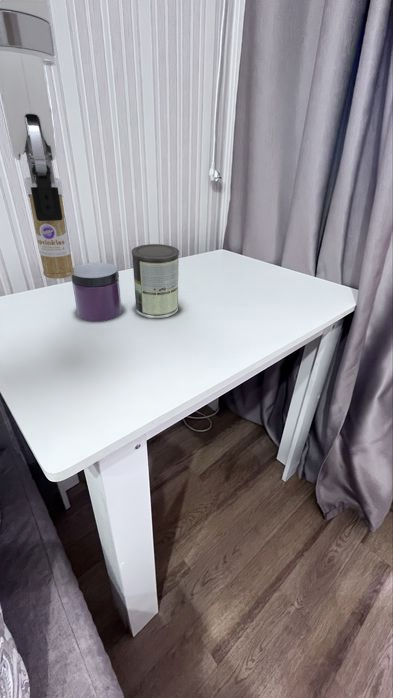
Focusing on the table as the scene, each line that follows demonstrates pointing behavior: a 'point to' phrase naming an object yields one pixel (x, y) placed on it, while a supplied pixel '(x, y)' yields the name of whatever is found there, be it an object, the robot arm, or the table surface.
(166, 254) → the coffee can
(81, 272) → the jar lid
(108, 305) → the jar
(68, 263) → the sprinkles bottle
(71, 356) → the table surface
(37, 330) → the table surface
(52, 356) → the table surface
